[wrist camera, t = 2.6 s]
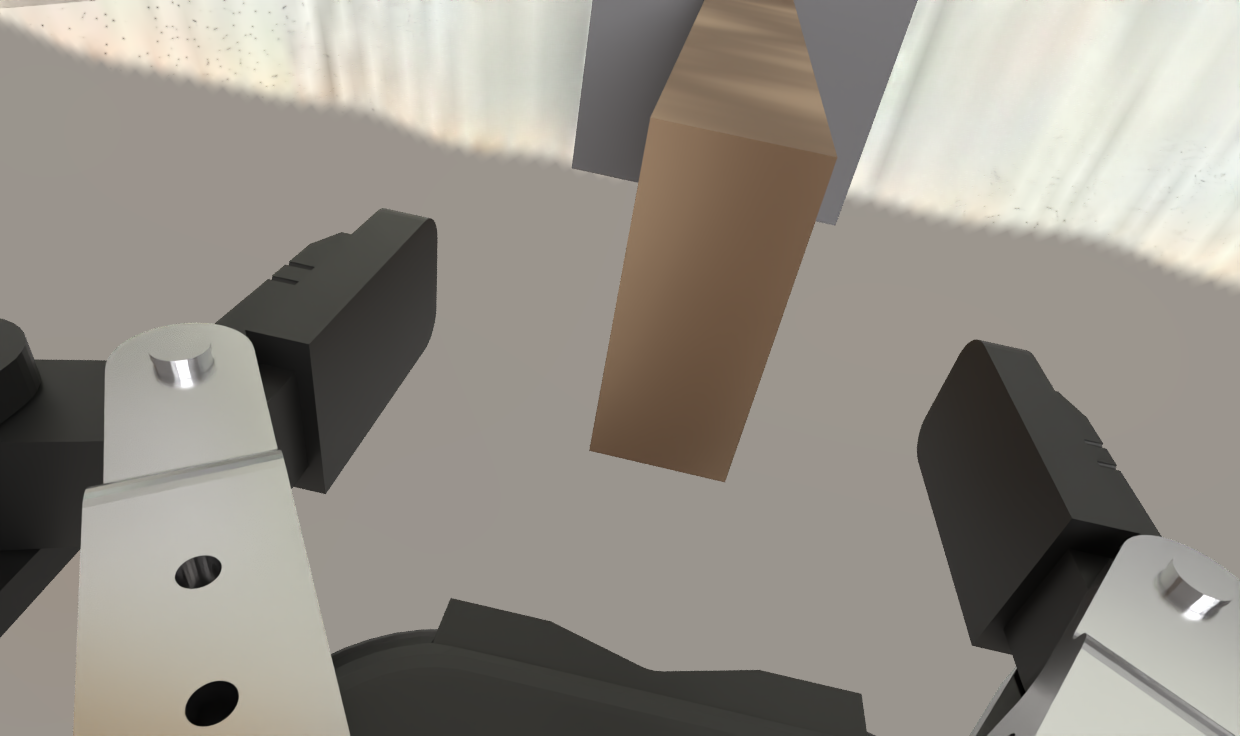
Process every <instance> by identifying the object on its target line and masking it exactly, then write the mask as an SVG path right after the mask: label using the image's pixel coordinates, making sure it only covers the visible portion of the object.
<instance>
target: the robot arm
mask: <svg viewBox="0 0 1240 736" xmlns="http://www.w3.org/2000/svg"><path fill="white" fill-rule="evenodd" d="M436 286H437V228H436V224H435V222H434V220H432V219H430V218H426V217H421V216H417V215H412V214H407V213H403V212H398V211H394V210H389V209H384V208H382V209H380V210H378V211H377V212H376V213H375V214H374V215H373V216H371V217H370V218H369V219H368V220H367V221H366V222H365V223H364V224H363V225H361V226H360V227H359V228H358V229H357V230H356V231H355V232H354V233H353V234H347V233H342V232H341V233H338V234H336V235H333V236H330V237H328V238H325V239H322V240H320V241H317V242H315V243H312V244H310V245H308V246H307V247H306V248H305V249H304V250H302V251H301V252H300V253H299V254H298V255H296V256H295V257H294V258H293V259H292V260H290V261H289V265H284V266H283V267H282V268H281V269H280V270H279V271H277V272H276V273H275V274H274V275H273V277H272V280H269V279H268V280H266V281H265V282H264V283H263V284H262V285H261V286H259V287H258V288H257V289H256V290H255V291H253V292H252V293H251V294H250V295H248V296H247V297H246V298H245V299H244V300H242V301H241V302H240V303H239V304H238V305H236V306H235V307H234V308H233V309H232V310H230V311H229V312H228V313H227V314H226V315H224V316H223V317H222V318H221V319H220V320H218V321H217V322H216V323H215V324H208V323H183V324H174V325H168V326H163V327H159V328H155V329H152V330H149V331H146V332H143V333H141V334H139V335H137V336H134V337H132V338H131V339H129V340H127V341H125V342H124V343H122V344H121V345H120V346H119V347H117V348H116V349H115V350H114V351H113V353H112V354H111V355H110V356H109V358H108V360H107V361H98V360H95V361H94V360H34V357H33V355H32V352H31V350H30V347H29V345H28V342H27V340H26V337H25V335H24V332H23V331H22V330H21V329H20V327H18V326H16V325H15V324H14V323H12V322H9V321H7V320H4V319H0V637H1V636H2V635H3V634H4V633H5V632H6V631H7V630H8V628H9V627H10V626H11V625H12V624H13V623H14V622H15V621H16V620H17V618H18V617H19V616H20V615H21V614H22V613H23V612H24V611H25V610H26V609H27V607H28V606H29V605H30V604H31V603H32V602H33V601H34V600H35V599H36V598H37V596H38V595H39V594H40V593H41V592H42V590H44V589H45V587H46V586H47V585H48V584H49V583H50V582H51V581H52V580H53V579H54V578H55V576H56V575H57V574H58V573H59V572H60V571H61V570H62V569H63V568H64V567H65V565H66V564H67V563H68V562H69V561H70V560H71V559H72V558H73V557H74V555H75V554H76V553H77V552H78V551H79V550H80V549H81V551H80V577H79V600H78V602H79V603H78V627H77V650H76V674H75V698H74V722H73V736H875V735H873V734H871V733H868V732H867V731H866V724H865V716H864V709H863V703H862V695H861V694H859V693H855V692H851V691H847V690H842V689H838V688H834V687H829V686H825V685H821V684H816V683H812V682H808V681H804V680H799V679H795V678H791V677H787V676H782V675H778V674H774V673H770V672H765V671H761V670H739V671H738V670H737V671H735V670H734V671H671V672H670V671H667V672H662V671H653V670H649V669H646V668H643V667H641V666H639V665H637V664H635V663H633V662H631V661H629V660H627V659H625V658H623V657H621V656H619V655H617V654H615V653H613V652H611V651H609V650H607V649H605V648H603V647H601V646H599V645H597V644H595V643H593V642H591V641H589V640H587V639H585V638H583V637H581V636H579V635H577V634H575V633H573V632H571V631H569V630H567V629H565V628H563V627H561V626H559V625H557V624H555V623H553V622H551V621H546V620H542V619H538V618H534V617H529V616H525V615H521V614H517V613H512V612H508V611H504V610H499V609H495V608H491V607H487V606H482V605H478V604H474V603H469V602H465V601H461V600H457V599H452V598H451V599H450V601H449V604H448V607H447V609H446V611H445V613H444V616H443V618H442V621H441V623H440V626H439V628H438V629H435V630H434V629H430V630H415V631H408V632H400V633H393V634H389V635H385V636H381V637H377V638H373V639H369V640H366V641H363V642H360V643H357V644H354V645H352V646H349V647H346V648H344V649H341V650H339V651H337V652H335V653H333V654H331V653H330V649H329V645H328V641H327V637H326V632H325V628H324V624H323V620H322V616H321V612H320V608H319V604H318V599H317V595H316V591H315V587H314V582H313V578H312V574H311V570H310V566H309V562H308V557H307V554H306V549H305V545H304V541H303V537H302V532H301V528H300V524H299V520H298V516H297V512H296V508H295V503H294V499H293V495H292V491H291V489H292V488H293V487H297V488H302V489H306V490H310V491H315V492H319V493H324V494H326V493H327V491H328V490H329V488H330V487H331V485H332V484H333V482H334V481H335V480H336V478H337V477H338V475H339V474H340V472H341V471H342V469H343V468H344V466H345V465H346V464H347V462H348V461H349V459H350V458H351V456H352V455H353V453H354V452H355V450H356V449H357V447H358V446H359V445H360V443H361V442H362V440H363V439H364V437H365V436H366V434H367V433H368V432H369V430H370V429H371V427H372V426H373V424H374V423H375V421H376V420H377V418H378V417H379V415H380V414H381V413H382V411H383V410H384V408H385V407H386V405H387V404H388V402H389V401H390V399H391V398H392V397H393V395H394V394H395V392H396V391H397V389H398V388H399V386H400V385H401V383H402V382H403V381H404V379H405V378H406V376H407V374H408V373H409V372H410V370H411V369H412V367H413V366H414V365H415V363H416V362H417V360H418V359H419V357H420V356H421V354H422V353H423V351H424V350H425V348H426V347H427V345H428V343H429V340H430V337H431V334H432V331H433V327H434V323H435V317H436V291H437V287H436ZM1102 444H1103V443H1102V441H1101V440H1100V438H1099V436H1098V435H1097V433H1096V432H1095V430H1094V428H1093V427H1092V425H1091V424H1090V422H1089V420H1088V419H1087V417H1086V416H1084V415H1083V414H1082V413H1081V412H1080V411H1079V410H1078V409H1077V408H1075V406H1073V405H1072V404H1071V403H1070V402H1069V401H1068V400H1067V399H1065V398H1064V397H1063V396H1062V395H1061V394H1060V393H1059V392H1057V391H1055V390H1054V389H1053V387H1052V385H1051V384H1050V382H1049V380H1048V379H1047V377H1046V375H1045V374H1044V372H1043V370H1042V369H1041V367H1040V365H1039V364H1038V362H1037V360H1036V359H1035V357H1034V356H1033V354H1032V353H1031V352H1029V351H1027V350H1022V349H1018V348H1013V347H1009V346H1004V345H999V344H995V343H990V342H986V341H981V340H973V341H971V342H970V343H968V344H967V345H966V346H965V347H964V349H963V350H962V352H961V353H960V355H959V356H958V358H957V360H956V362H955V364H954V366H953V368H952V369H951V371H950V373H949V375H948V377H947V379H946V380H945V383H944V384H943V386H942V388H941V390H940V392H939V393H938V396H937V397H936V399H935V401H934V403H933V404H932V406H931V408H930V410H929V412H928V414H927V415H926V417H925V419H924V421H923V424H922V427H921V429H920V433H919V437H918V444H917V457H918V462H919V465H920V469H921V473H922V476H923V479H924V483H925V486H926V489H927V493H928V496H929V500H930V503H931V507H932V510H933V513H934V517H935V520H936V524H937V527H938V531H939V534H940V537H941V541H942V544H943V548H944V551H945V555H946V558H947V561H948V565H949V568H950V572H951V575H952V578H953V582H954V585H955V589H956V592H957V595H958V599H959V602H960V606H961V609H962V612H963V616H964V620H965V623H966V626H967V630H968V633H969V637H970V640H971V643H972V646H976V647H981V648H985V649H989V650H994V651H998V652H1002V653H1007V654H1011V655H1013V658H1014V661H1015V664H1016V667H1015V668H1014V670H1013V671H1012V672H1011V673H1010V674H1009V675H1008V676H1007V677H1006V679H1005V680H1004V681H1003V682H1002V684H1001V685H1000V687H999V688H998V690H997V692H996V693H995V695H994V697H993V698H992V700H991V701H990V703H989V705H988V706H987V708H986V710H985V711H984V713H983V714H982V716H981V718H980V719H979V721H978V722H977V724H976V726H975V727H974V729H973V731H972V732H971V734H970V736H1240V580H1239V579H1238V578H1237V577H1235V576H1234V575H1233V574H1232V573H1231V572H1230V571H1228V570H1227V569H1225V568H1224V567H1223V566H1221V565H1220V564H1219V563H1217V562H1216V561H1214V560H1212V559H1211V558H1209V557H1208V556H1206V555H1204V554H1203V553H1200V552H1198V551H1197V550H1195V549H1193V548H1191V547H1189V546H1187V545H1184V544H1182V543H1179V542H1177V541H1174V540H1171V539H1167V538H1163V537H1162V536H1161V535H1160V533H1159V532H1158V530H1157V529H1156V527H1155V525H1154V524H1153V522H1152V521H1151V519H1150V518H1149V516H1148V514H1147V513H1146V511H1145V509H1144V508H1143V506H1142V505H1141V503H1140V501H1139V500H1138V498H1137V497H1136V495H1135V494H1134V492H1133V490H1132V489H1131V487H1130V486H1129V484H1128V483H1127V481H1126V479H1125V478H1124V476H1123V475H1122V473H1121V471H1118V470H1116V463H1115V462H1114V460H1113V459H1112V457H1111V455H1110V454H1109V452H1108V451H1107V449H1105V448H1102Z"/></svg>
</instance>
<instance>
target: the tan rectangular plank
mask: <svg viewBox="0 0 1240 736" xmlns="http://www.w3.org/2000/svg"><path fill="white" fill-rule="evenodd" d="M836 160H837V154H836V150H835V147H834V143H833V140H832V136H831V132H830V129H829V125H828V122H827V118H826V115H825V111H824V108H823V104H822V100H821V97H820V93H819V90H818V86H817V83H816V79H815V75H814V72H813V68H812V65H811V61H810V58H809V54H808V50H807V47H806V43H805V40H804V36H803V33H802V29H801V25H800V22H799V18H798V15H797V11H796V8H795V4H794V0H704V2H703V5H702V7H701V9H700V11H699V13H698V15H697V18H696V20H695V22H694V24H693V26H692V28H691V31H690V33H689V35H688V37H687V39H686V41H685V44H684V46H683V48H682V50H681V52H680V54H679V57H678V59H677V61H676V63H675V65H674V67H673V70H672V72H671V74H670V76H669V78H668V80H667V83H666V85H665V87H664V89H663V91H662V93H661V96H660V98H659V100H658V102H657V104H656V106H655V109H654V111H653V113H652V115H651V117H650V122H649V128H648V133H647V139H646V144H645V150H644V155H643V161H642V166H641V172H640V177H639V182H638V188H637V193H636V199H635V204H634V210H633V215H632V221H631V227H630V232H629V237H628V242H627V248H626V253H625V259H624V264H623V270H622V276H621V281H620V286H619V292H618V297H617V303H616V308H615V313H614V319H613V324H612V330H611V335H610V341H609V346H608V352H607V358H606V362H605V368H604V373H603V379H602V384H601V390H600V395H599V401H598V406H597V412H596V417H595V423H594V428H593V433H592V439H591V444H590V451H593V452H597V453H602V454H606V455H610V456H615V457H619V458H623V459H627V460H632V461H636V462H640V463H645V464H649V465H653V466H658V467H662V468H666V469H670V470H675V471H679V472H683V473H687V474H692V475H696V476H701V477H705V478H709V479H713V480H718V481H722V482H725V480H726V477H727V475H728V472H729V469H730V466H731V463H732V460H733V457H734V454H735V451H736V448H737V445H738V443H739V440H740V437H741V434H742V431H743V428H744V425H745V423H746V420H747V417H748V414H749V411H750V408H751V405H752V402H753V400H754V397H755V394H756V391H757V388H758V385H759V382H760V380H761V377H762V373H763V371H764V368H765V365H766V362H767V359H768V356H769V354H770V351H771V348H772V345H773V342H774V339H775V336H776V333H777V330H778V327H779V325H780V322H781V319H782V316H783V313H784V310H785V307H786V304H787V301H788V299H789V296H790V293H791V290H792V287H793V284H794V281H795V279H796V276H797V272H798V270H799V267H800V264H801V261H802V258H803V255H804V253H805V249H806V247H807V244H808V241H809V238H810V235H811V232H812V230H813V227H814V224H815V221H816V218H817V215H818V212H819V209H820V206H821V204H822V201H823V198H824V195H825V192H826V189H827V186H828V183H829V181H830V178H831V175H832V172H833V169H834V166H835V163H836Z"/></svg>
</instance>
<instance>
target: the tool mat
mask: <svg viewBox="0 0 1240 736" xmlns="http://www.w3.org/2000/svg"><path fill="white" fill-rule="evenodd" d="M917 1H918V0H794V4H795V8H796V11H797V15H798V18H799V22H800V25H801V29H802V33H803V36H804V40H805V43H806V47H807V50H808V54H809V58H810V61H811V65H812V68H813V72H814V75H815V79H816V83H817V86H818V90H819V93H820V97H821V100H822V104H823V108H824V111H825V115H826V118H827V122H828V125H829V129H830V132H831V136H832V140H833V143H834V147H835V150H836V154H837V160H836V163H835V166H834V169H833V172H832V175H831V178H830V181H829V183H828V186H827V189H826V192H825V195H824V198H823V201H822V204H821V206H820V209H819V212H818V215H817V218H816V221H817V222H822V223H826V224H831V225H836V222H837V219H838V217H839V214H840V211H841V209H842V206H843V203H844V200H845V198H846V195H847V192H848V189H849V187H850V184H851V181H852V178H853V176H854V173H855V170H856V168H857V165H858V162H859V159H860V157H861V154H862V151H863V148H864V146H865V143H866V140H867V137H868V135H869V132H870V129H871V126H872V124H873V121H874V118H875V116H876V113H877V110H878V107H879V105H880V102H881V99H882V96H883V94H884V91H885V88H886V85H887V83H888V80H889V77H890V75H891V72H892V69H893V66H894V64H895V61H896V58H897V55H898V53H899V50H900V47H901V44H902V42H903V39H904V36H905V34H906V31H907V28H908V25H909V23H910V20H911V17H912V14H913V12H914V9H915V6H916V3H917ZM703 2H704V0H593V2H592V10H591V18H590V26H589V34H588V42H587V50H586V58H585V66H584V74H583V82H582V90H581V98H580V106H579V114H578V122H577V131H576V139H575V147H574V155H573V163H572V168H573V169H578V170H582V171H587V172H592V173H596V174H601V175H605V176H610V177H615V178H619V179H624V180H628V181H633V182H639V177H640V172H641V166H642V161H643V155H644V150H645V144H646V139H647V133H648V128H649V122H650V117H651V115H652V113H653V111H654V109H655V106H656V104H657V102H658V100H659V98H660V96H661V93H662V91H663V89H664V87H665V85H666V83H667V80H668V78H669V76H670V74H671V72H672V70H673V67H674V65H675V63H676V61H677V59H678V57H679V54H680V52H681V50H682V48H683V46H684V44H685V41H686V39H687V37H688V35H689V33H690V31H691V28H692V26H693V24H694V22H695V20H696V18H697V15H698V13H699V11H700V9H701V7H702V5H703Z"/></svg>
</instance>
